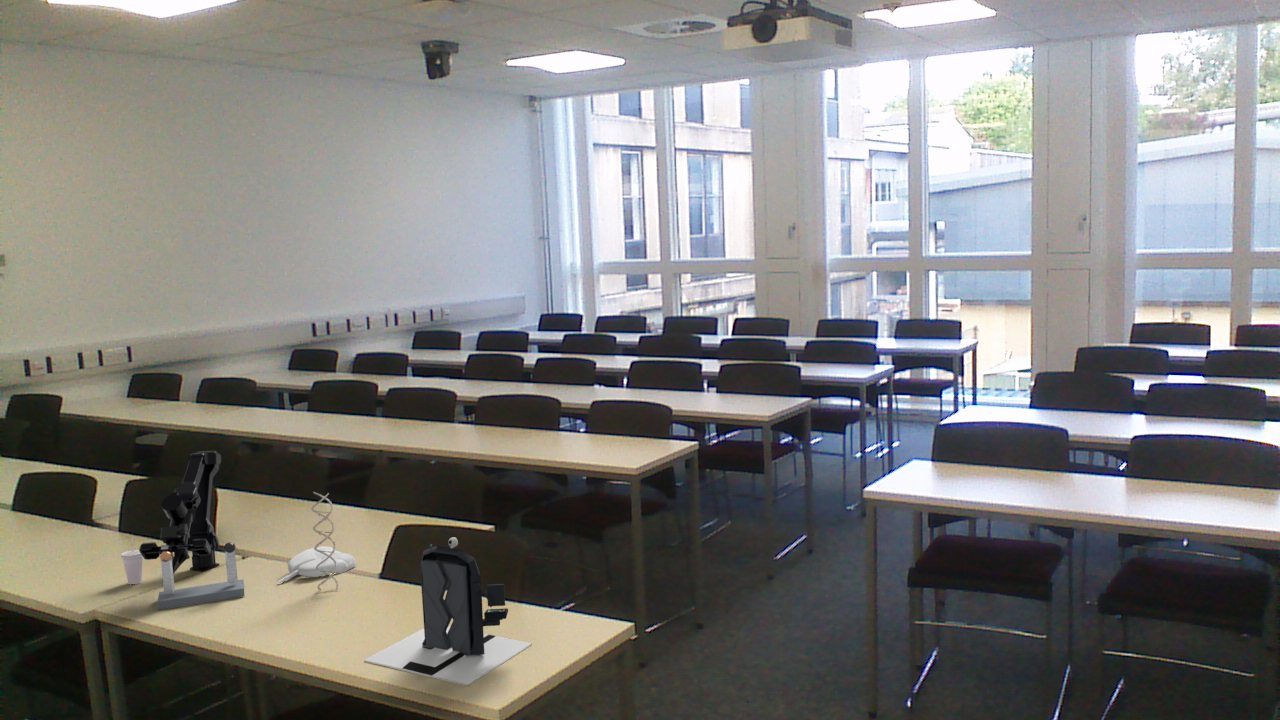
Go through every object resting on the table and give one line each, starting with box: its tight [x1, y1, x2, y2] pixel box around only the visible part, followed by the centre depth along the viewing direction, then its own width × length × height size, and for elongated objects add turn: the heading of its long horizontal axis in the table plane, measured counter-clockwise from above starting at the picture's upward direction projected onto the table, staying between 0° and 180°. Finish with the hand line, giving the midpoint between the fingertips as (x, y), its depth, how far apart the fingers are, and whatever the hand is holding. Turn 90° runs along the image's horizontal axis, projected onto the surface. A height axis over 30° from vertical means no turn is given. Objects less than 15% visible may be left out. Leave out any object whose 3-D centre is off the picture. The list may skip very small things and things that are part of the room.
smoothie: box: [120, 538, 144, 586], centre depth 301 cm, size 6×6×14 cm
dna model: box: [311, 491, 339, 591], centre depth 287 cm, size 7×6×30 cm
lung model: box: [277, 545, 357, 583], centre depth 305 cm, size 7×17×25 cm
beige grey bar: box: [223, 542, 239, 584], centre depth 288 cm, size 3×3×12 cm
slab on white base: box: [364, 536, 532, 687], centre depth 238 cm, size 32×25×28 cm
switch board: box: [156, 578, 245, 611], centre depth 285 cm, size 9×23×2 cm, turn 113°
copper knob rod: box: [159, 551, 176, 593], centre depth 281 cm, size 3×3×12 cm
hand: (170, 574), depth 283 cm, fingers closed
